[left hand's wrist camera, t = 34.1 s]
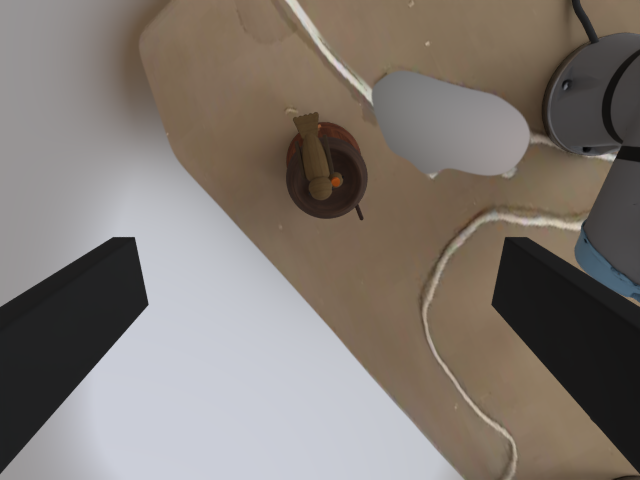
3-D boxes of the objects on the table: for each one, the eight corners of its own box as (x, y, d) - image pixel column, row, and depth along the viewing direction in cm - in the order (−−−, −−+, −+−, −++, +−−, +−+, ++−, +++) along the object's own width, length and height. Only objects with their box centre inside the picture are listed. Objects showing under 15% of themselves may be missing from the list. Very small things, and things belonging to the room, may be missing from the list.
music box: (265, 139, 50) (247, 146, 31) (330, 97, 49) (353, 78, 30) (319, 225, 54) (332, 277, 35) (379, 188, 53) (427, 222, 34)
